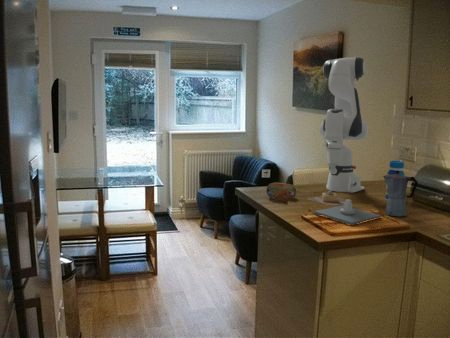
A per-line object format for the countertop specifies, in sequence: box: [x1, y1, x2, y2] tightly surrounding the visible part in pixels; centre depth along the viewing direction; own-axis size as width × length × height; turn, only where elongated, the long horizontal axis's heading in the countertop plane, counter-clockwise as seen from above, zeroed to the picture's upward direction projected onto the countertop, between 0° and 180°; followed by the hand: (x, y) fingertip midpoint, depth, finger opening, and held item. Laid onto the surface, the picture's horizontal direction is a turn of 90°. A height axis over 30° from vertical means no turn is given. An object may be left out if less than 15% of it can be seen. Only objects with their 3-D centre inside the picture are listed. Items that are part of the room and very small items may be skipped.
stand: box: [307, 190, 354, 207], centre depth 214 cm, size 16×16×6 cm
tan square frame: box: [321, 192, 339, 202], centre depth 214 cm, size 7×7×3 cm
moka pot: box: [382, 170, 419, 217], centre depth 195 cm, size 10×15×20 cm, turn 51°
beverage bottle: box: [384, 160, 406, 201], centre depth 223 cm, size 8×8×20 cm
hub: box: [313, 198, 382, 226], centre depth 191 cm, size 20×20×8 cm
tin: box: [266, 182, 297, 202], centre depth 219 cm, size 15×3×8 cm, turn 62°
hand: (331, 171), depth 212 cm, fingers open, 8 cm apart
